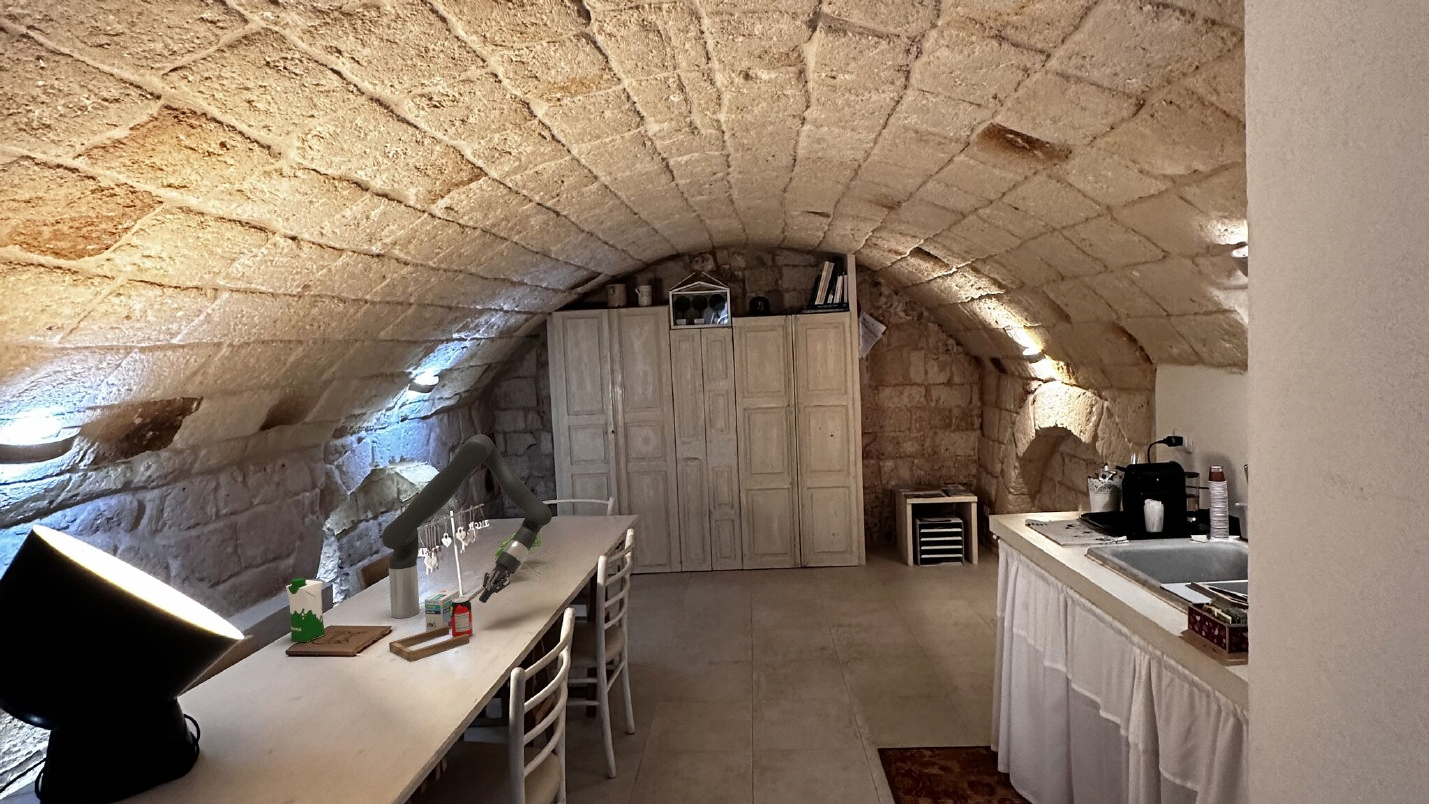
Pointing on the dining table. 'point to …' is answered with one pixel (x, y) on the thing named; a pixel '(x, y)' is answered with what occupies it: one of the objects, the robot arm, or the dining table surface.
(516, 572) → the plant cuttings
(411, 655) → the frame
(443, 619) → the light bulb box
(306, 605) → the milk carton
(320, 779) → the dining table surface
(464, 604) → the beverage can
